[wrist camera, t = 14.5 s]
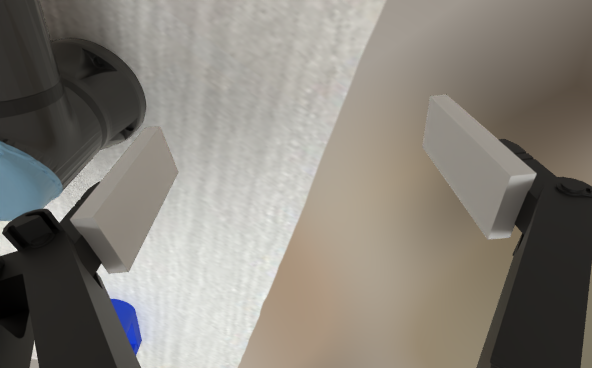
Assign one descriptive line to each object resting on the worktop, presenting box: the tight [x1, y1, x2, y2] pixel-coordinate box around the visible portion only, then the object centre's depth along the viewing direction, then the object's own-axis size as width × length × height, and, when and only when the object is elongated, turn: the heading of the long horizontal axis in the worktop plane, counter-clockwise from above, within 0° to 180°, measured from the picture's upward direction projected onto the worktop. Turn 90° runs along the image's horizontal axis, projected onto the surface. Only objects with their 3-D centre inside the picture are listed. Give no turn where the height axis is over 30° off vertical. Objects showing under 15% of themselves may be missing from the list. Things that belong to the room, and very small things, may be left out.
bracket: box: [110, 299, 142, 356], centre depth 79 cm, size 20×9×8 cm, turn 178°
